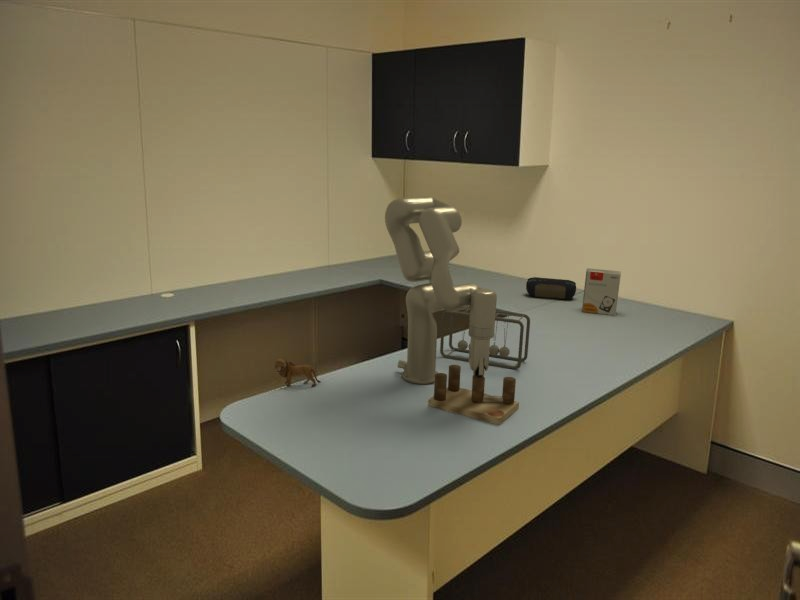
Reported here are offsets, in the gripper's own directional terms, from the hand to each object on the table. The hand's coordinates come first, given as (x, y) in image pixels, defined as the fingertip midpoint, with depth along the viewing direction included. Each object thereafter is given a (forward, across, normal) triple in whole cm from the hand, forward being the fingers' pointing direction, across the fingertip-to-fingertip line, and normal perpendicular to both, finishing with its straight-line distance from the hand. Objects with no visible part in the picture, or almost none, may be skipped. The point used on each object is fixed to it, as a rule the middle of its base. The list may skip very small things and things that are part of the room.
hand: (477, 388), depth 196 cm
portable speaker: (+5, -139, +53) cm, 149 cm away
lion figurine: (+5, -9, -56) cm, 57 cm away
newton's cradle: (+5, -39, +7) cm, 40 cm away
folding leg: (+2, +5, +4) cm, 7 cm away
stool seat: (+4, +4, -2) cm, 6 cm away
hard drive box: (+5, -112, +70) cm, 133 cm away
